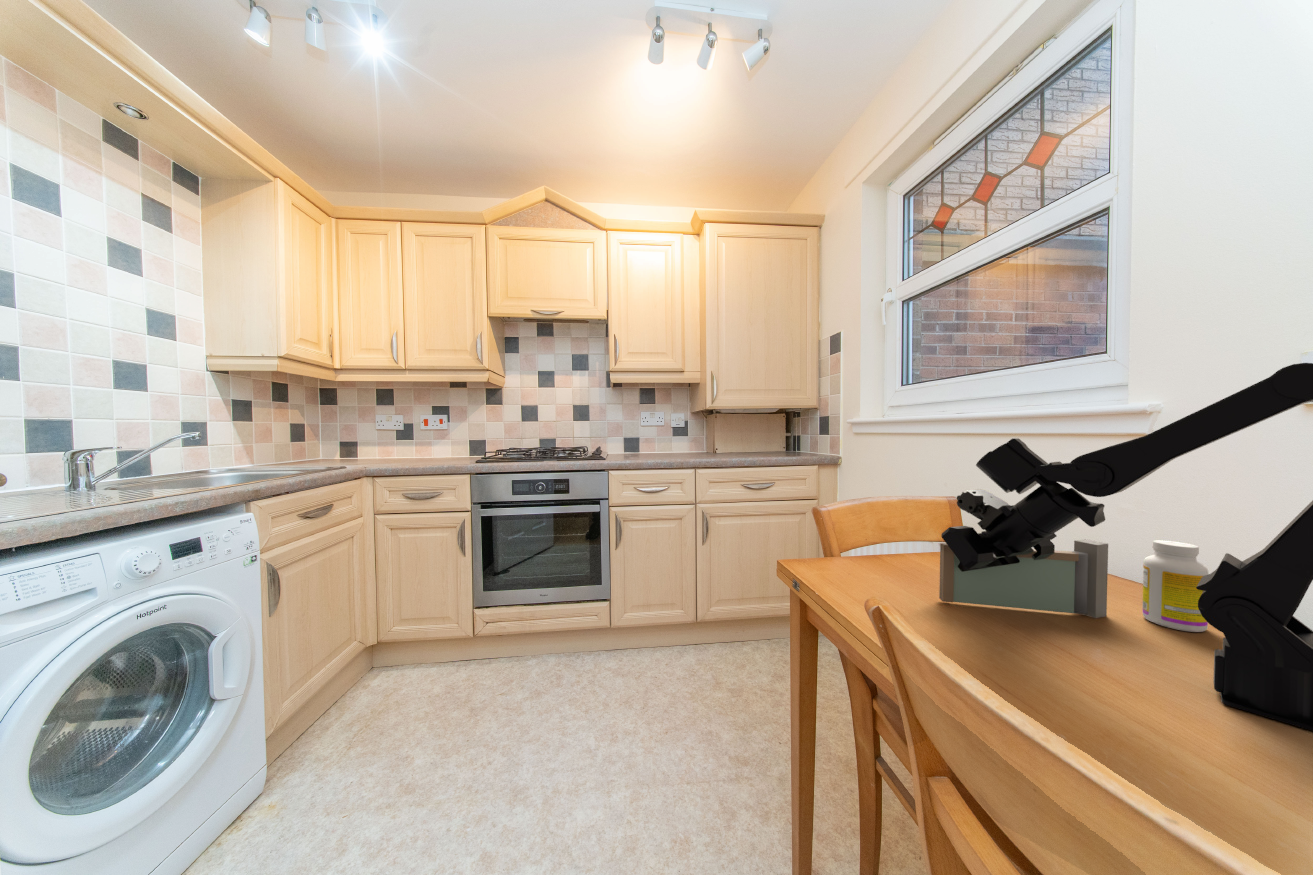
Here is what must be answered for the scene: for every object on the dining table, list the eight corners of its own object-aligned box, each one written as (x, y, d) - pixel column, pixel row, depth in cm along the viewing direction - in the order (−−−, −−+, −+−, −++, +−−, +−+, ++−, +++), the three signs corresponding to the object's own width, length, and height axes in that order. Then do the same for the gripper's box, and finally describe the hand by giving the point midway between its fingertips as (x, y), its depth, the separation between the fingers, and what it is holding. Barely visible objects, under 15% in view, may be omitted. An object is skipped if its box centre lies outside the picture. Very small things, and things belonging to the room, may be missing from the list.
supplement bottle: (1222, 634, 65) (1224, 549, 65) (1177, 633, 65) (1179, 548, 65) (1170, 615, 72) (1172, 538, 72) (1129, 614, 72) (1131, 538, 72)
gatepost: (1083, 608, 74) (1085, 539, 74) (1106, 615, 71) (1108, 543, 71) (1072, 611, 73) (1074, 540, 73) (1095, 618, 70) (1097, 544, 70)
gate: (1081, 611, 72) (1082, 551, 72) (1090, 615, 70) (1091, 555, 70) (938, 597, 77) (939, 542, 77) (943, 601, 75) (944, 545, 75)
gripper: (1034, 473, 72) (966, 525, 83) (954, 476, 66) (892, 532, 77) (1093, 530, 65) (1011, 579, 76) (1009, 539, 59) (933, 591, 69)
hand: (961, 568), depth 75 cm, fingers closed
